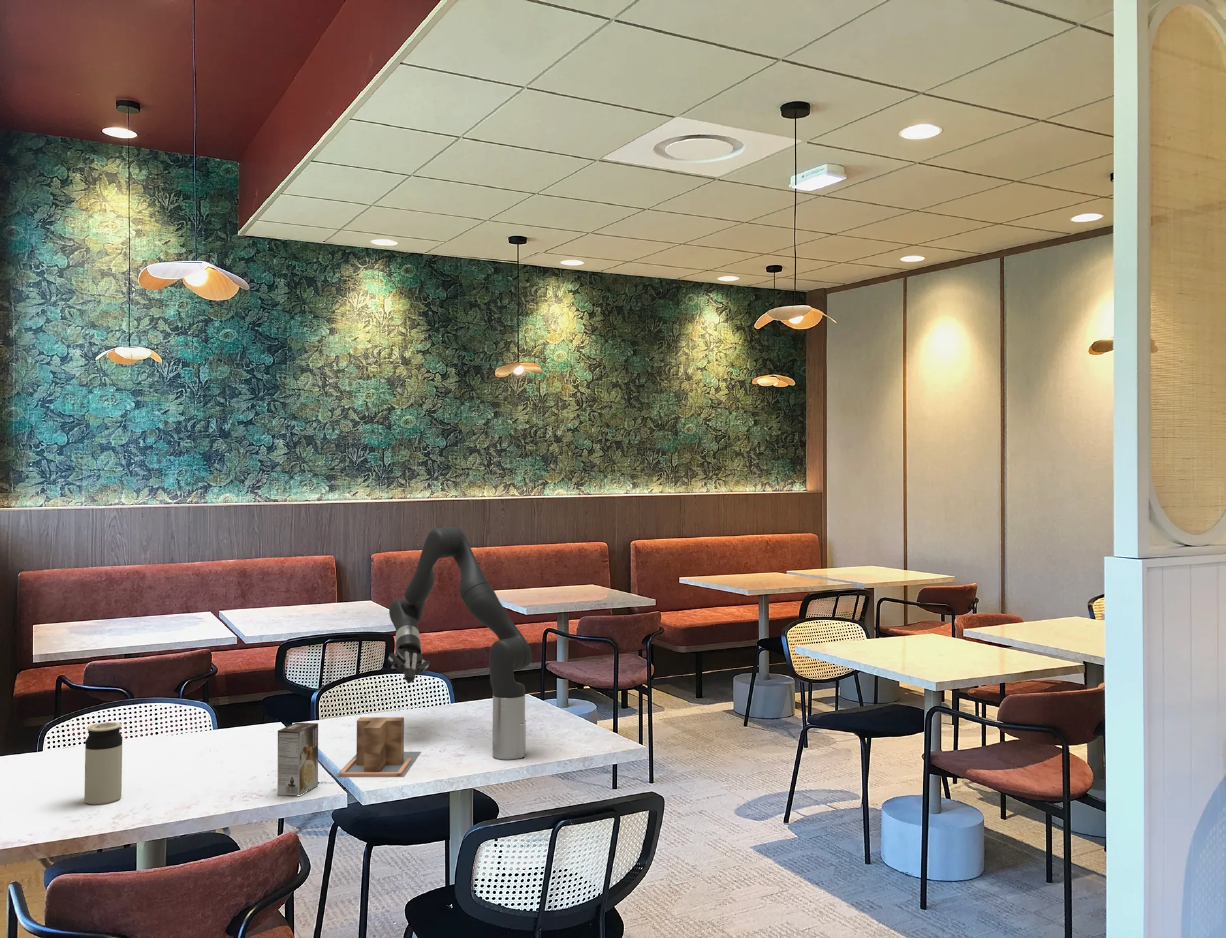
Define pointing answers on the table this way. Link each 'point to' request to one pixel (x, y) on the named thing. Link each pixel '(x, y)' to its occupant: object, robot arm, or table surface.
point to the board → (387, 771)
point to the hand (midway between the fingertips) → (410, 680)
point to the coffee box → (297, 758)
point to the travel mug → (103, 763)
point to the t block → (379, 742)
